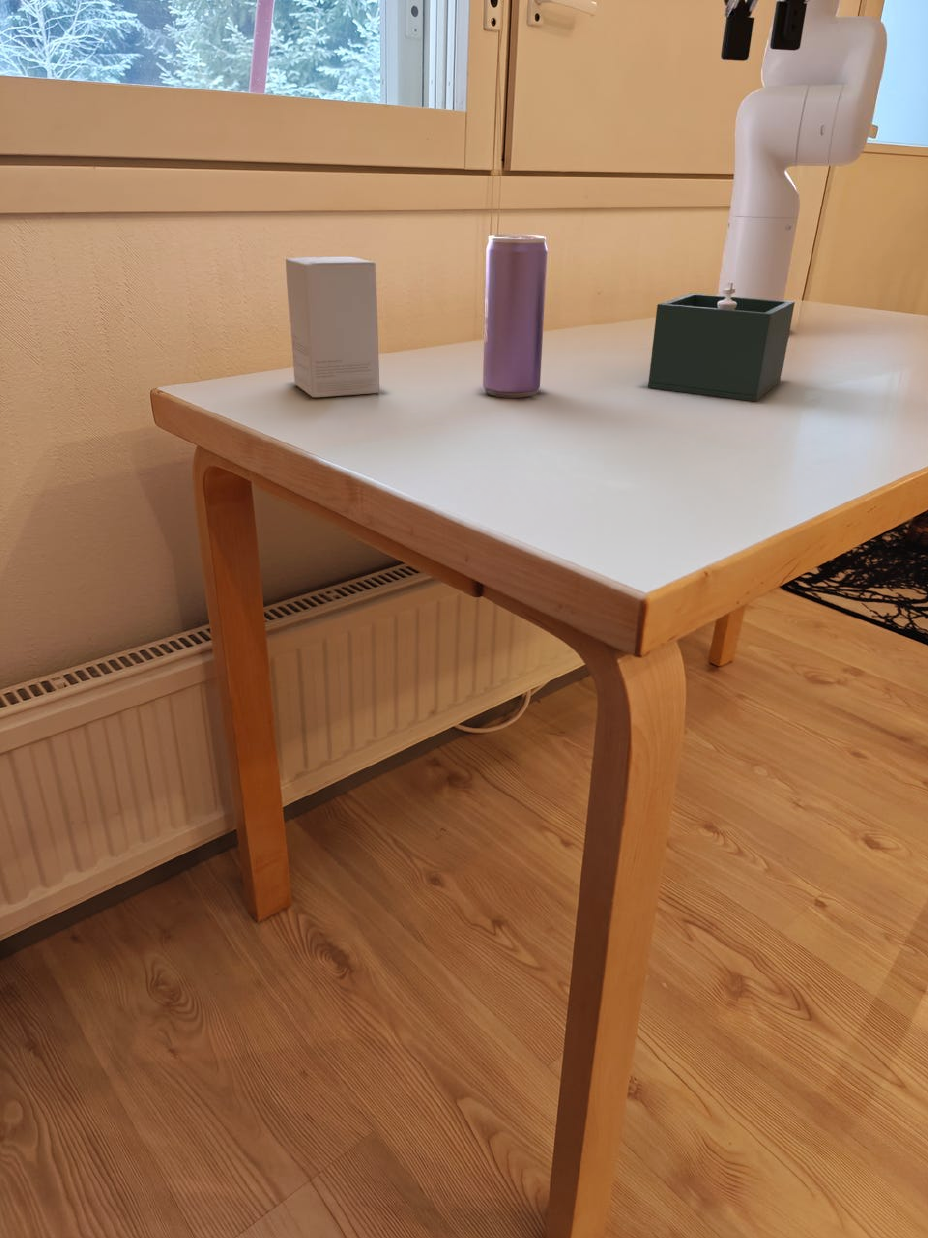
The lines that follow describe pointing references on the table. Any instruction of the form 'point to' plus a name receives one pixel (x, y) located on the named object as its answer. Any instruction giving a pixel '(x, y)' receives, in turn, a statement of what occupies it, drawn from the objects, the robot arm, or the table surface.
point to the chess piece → (727, 298)
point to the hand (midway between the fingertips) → (758, 54)
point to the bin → (720, 346)
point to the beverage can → (514, 314)
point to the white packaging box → (333, 325)
